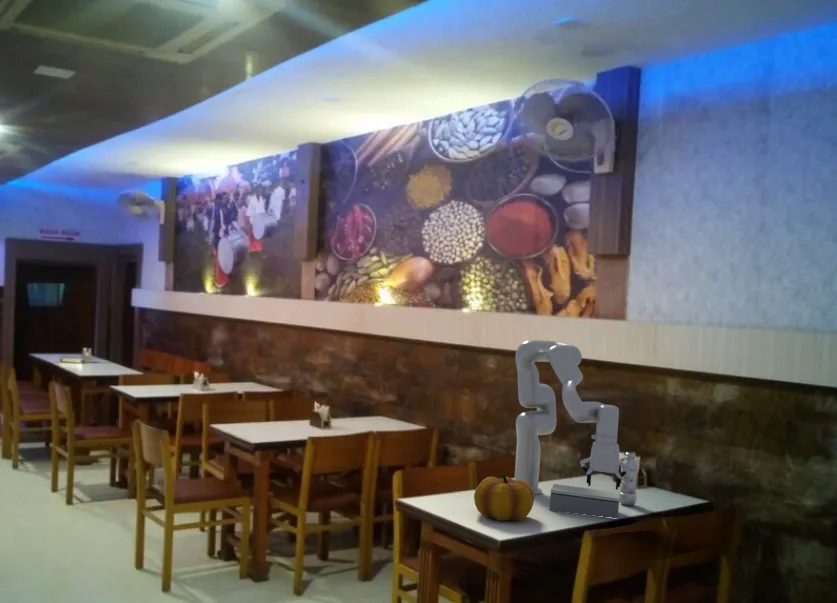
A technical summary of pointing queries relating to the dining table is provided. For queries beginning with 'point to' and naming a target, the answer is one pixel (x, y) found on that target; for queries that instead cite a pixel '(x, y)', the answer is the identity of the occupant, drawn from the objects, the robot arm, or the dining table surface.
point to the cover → (585, 492)
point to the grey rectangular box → (583, 505)
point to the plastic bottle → (629, 480)
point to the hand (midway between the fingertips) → (603, 487)
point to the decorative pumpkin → (504, 498)
